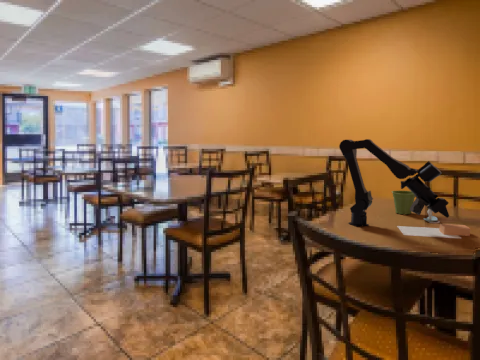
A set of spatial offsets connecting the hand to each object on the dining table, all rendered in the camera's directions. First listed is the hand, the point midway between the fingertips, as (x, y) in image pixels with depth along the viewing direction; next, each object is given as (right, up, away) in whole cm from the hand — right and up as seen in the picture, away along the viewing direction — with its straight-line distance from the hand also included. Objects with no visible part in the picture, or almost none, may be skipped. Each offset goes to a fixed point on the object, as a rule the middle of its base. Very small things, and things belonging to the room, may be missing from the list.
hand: (448, 216), depth 131 cm
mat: (-7, -7, +3) cm, 10 cm away
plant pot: (+1, -3, +38) cm, 38 cm away
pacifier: (+5, -5, +19) cm, 21 cm away
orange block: (-2, -5, +1) cm, 6 cm away
